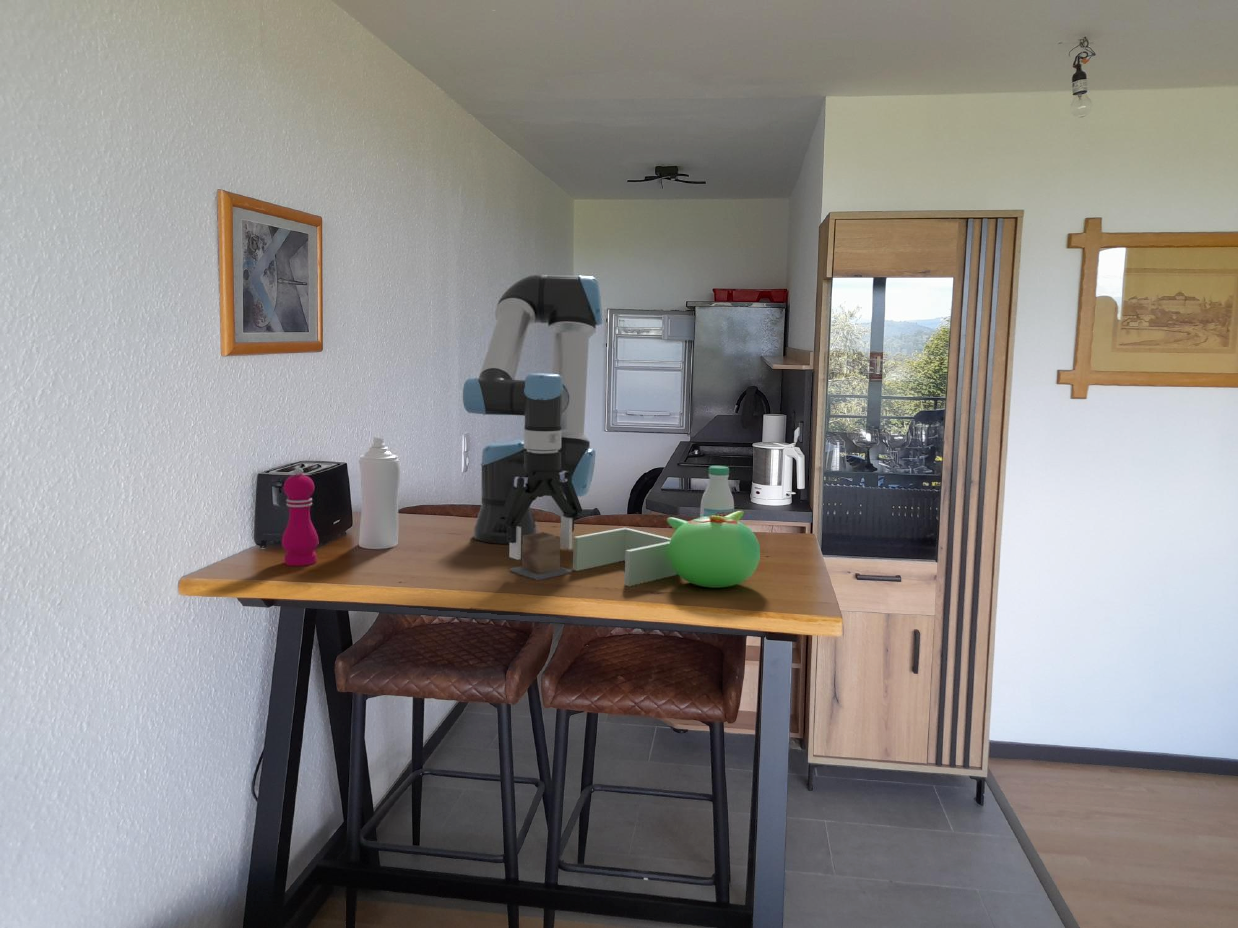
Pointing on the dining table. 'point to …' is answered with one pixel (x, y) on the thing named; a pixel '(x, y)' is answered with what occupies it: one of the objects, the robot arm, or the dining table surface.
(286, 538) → the pepper mill
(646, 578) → the u-shaped panel enclosure
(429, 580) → the dining table surface
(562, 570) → the coaster
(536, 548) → the walnut block
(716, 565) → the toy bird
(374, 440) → the spray can
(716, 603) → the dining table surface
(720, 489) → the milk bottle
